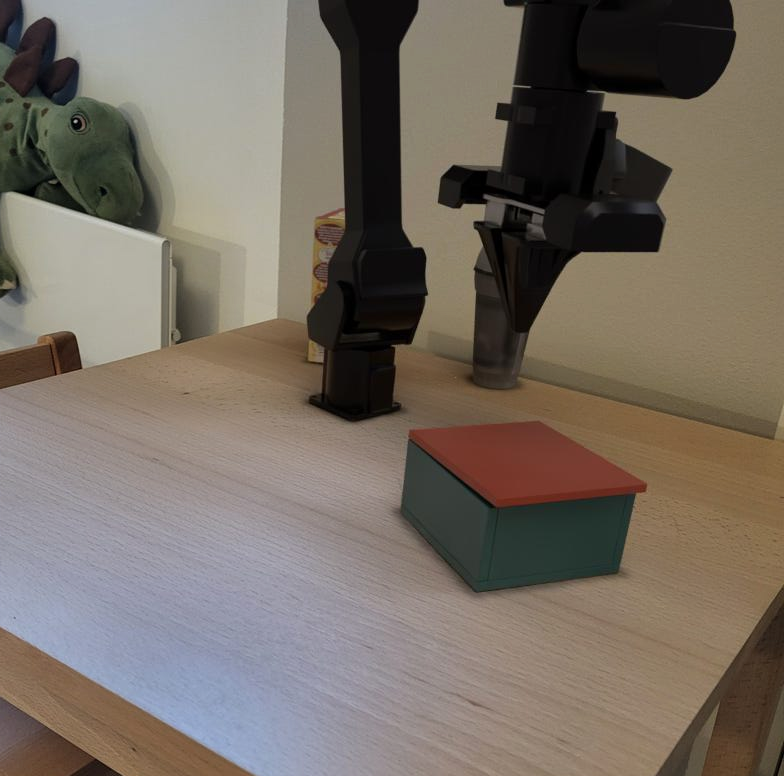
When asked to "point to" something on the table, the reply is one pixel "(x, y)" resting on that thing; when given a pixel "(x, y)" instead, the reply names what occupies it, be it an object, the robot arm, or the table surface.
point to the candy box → (324, 262)
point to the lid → (524, 463)
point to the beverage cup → (493, 334)
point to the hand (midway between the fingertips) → (519, 331)
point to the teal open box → (512, 530)
